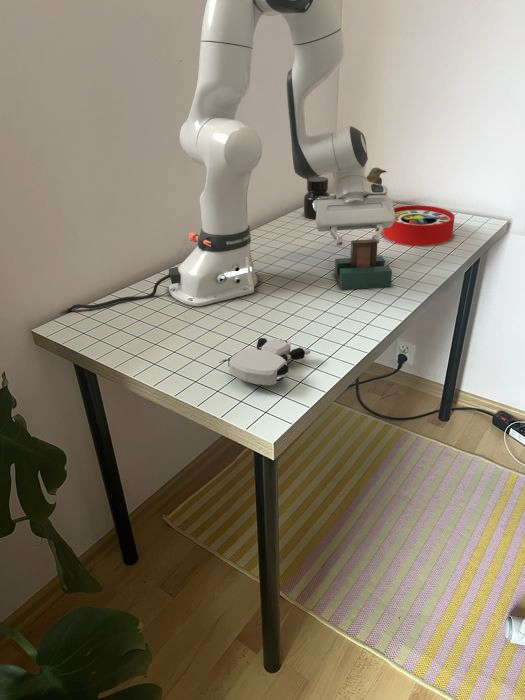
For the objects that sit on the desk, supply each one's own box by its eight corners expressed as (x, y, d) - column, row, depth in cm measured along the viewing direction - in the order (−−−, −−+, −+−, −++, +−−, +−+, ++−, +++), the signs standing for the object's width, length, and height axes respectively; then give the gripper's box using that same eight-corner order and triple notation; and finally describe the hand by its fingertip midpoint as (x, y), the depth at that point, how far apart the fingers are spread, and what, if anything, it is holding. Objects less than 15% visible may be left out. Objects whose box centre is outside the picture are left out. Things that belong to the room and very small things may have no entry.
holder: (334, 274, 142) (335, 258, 140) (380, 271, 142) (381, 255, 140) (341, 289, 133) (342, 273, 131) (390, 286, 134) (392, 270, 132)
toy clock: (379, 206, 171) (444, 204, 170) (378, 224, 174) (442, 222, 173) (391, 226, 154) (463, 224, 153) (389, 246, 157) (460, 244, 156)
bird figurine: (371, 219, 176) (386, 157, 176) (343, 216, 181) (357, 155, 180) (383, 229, 188) (397, 172, 187) (356, 226, 193) (369, 170, 192)
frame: (349, 274, 138) (351, 240, 133) (373, 273, 138) (375, 238, 134) (351, 278, 136) (352, 243, 132) (375, 276, 136) (377, 241, 132)
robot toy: (259, 349, 112) (217, 381, 101) (259, 329, 110) (216, 359, 99) (314, 363, 107) (275, 399, 95) (314, 342, 105) (276, 376, 93)
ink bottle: (333, 212, 188) (334, 176, 182) (329, 219, 180) (330, 182, 174) (305, 211, 190) (305, 175, 184) (300, 219, 182) (300, 182, 176)
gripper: (313, 190, 140) (318, 240, 137) (393, 186, 141) (400, 235, 137) (311, 203, 146) (315, 251, 143) (387, 198, 147) (394, 246, 143)
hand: (357, 243), depth 140 cm, fingers open, 8 cm apart
